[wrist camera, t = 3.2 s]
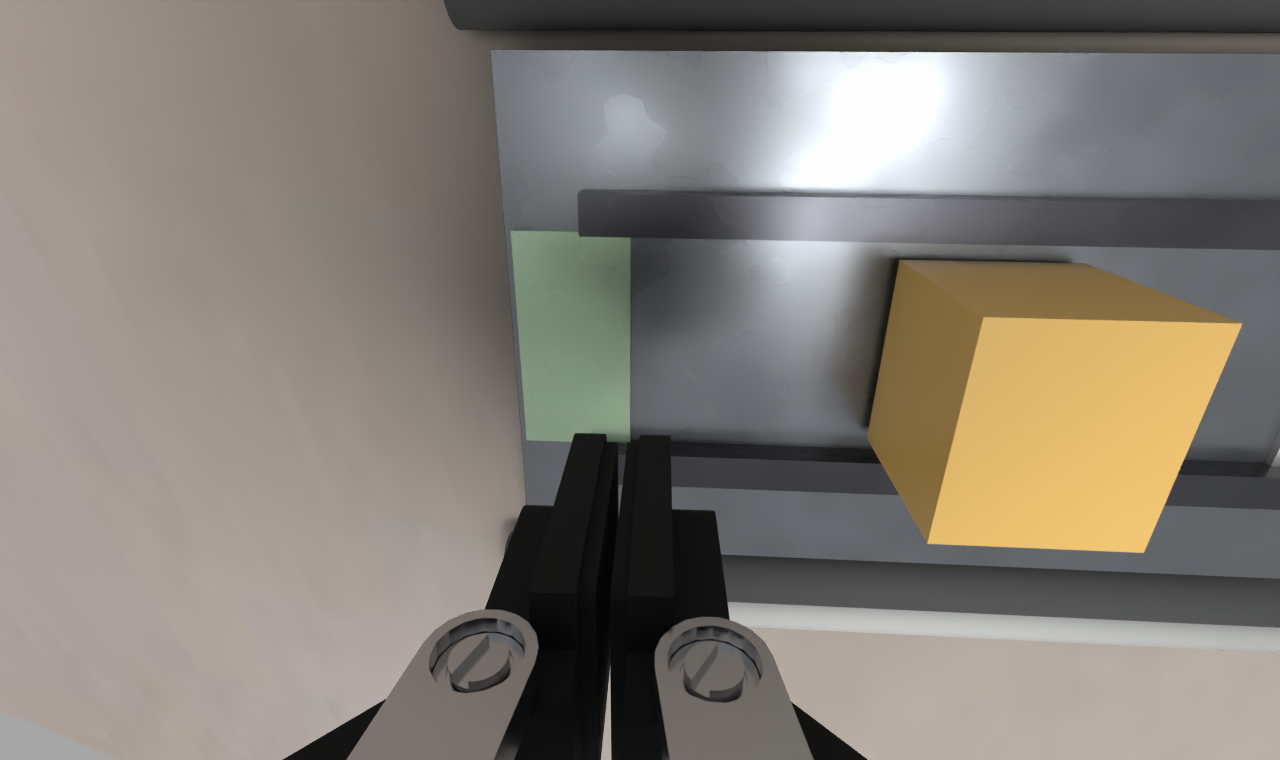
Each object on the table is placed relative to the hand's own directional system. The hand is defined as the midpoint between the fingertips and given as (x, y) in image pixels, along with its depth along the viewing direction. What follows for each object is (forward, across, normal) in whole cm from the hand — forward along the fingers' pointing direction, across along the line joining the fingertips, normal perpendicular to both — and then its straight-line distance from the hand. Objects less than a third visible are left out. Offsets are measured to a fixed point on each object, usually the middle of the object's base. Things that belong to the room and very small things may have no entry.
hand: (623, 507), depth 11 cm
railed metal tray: (+8, -9, -1) cm, 12 cm away
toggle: (+6, -9, -1) cm, 11 cm away
